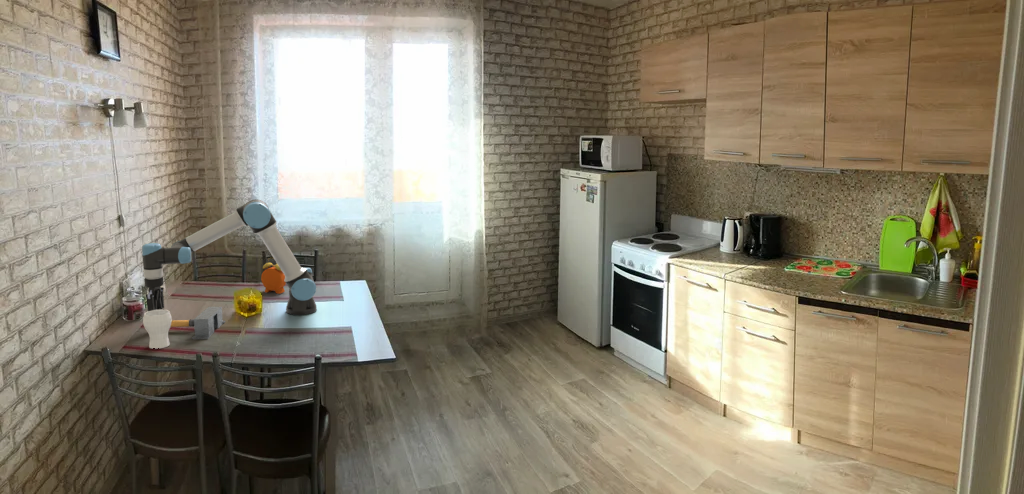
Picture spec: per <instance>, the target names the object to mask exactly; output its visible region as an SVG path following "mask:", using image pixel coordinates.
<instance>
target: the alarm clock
mask: <svg viewBox="0 0 1024 494" xmlns="http://www.w3.org/2000/svg"><path fill="white" fill-rule="evenodd" d="M269 261H270V259H268V262H265V264H263V266H262V270H263V271H262V273H261V276H260V278H261V279H260V281H261V283H262V285H263V287H264V288H265V289H264V293H269V292H272V291H273V292H275V293H276V294H279V295H280V294H282V293H285V292H286V290H285V286H286V285H287V284H286V282H285V281H284V280H285V275H284V273H283V272H282V270H281V269H280V267H279V266H278V264H277V263H276V264H273V263H272V262H269ZM271 266H272V267H271Z"/></svg>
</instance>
